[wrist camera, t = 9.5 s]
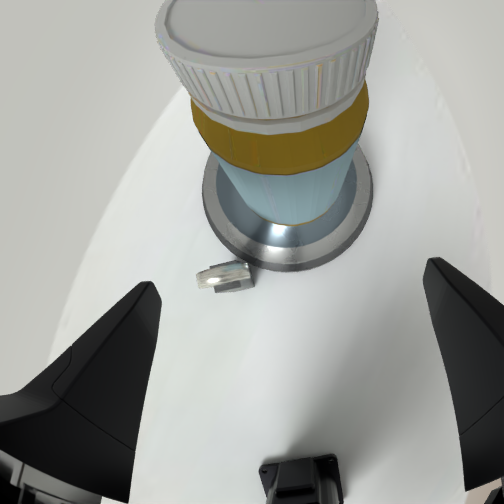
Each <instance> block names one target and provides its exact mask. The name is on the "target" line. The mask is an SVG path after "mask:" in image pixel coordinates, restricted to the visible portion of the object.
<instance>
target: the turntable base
mask: <svg viewBox="0 0 504 504" xmlns="http://www.w3.org/2000/svg"><path fill="white" fill-rule="evenodd" d="M366 162H367V160H366ZM367 165H368V163H367ZM368 168H369V165H368ZM369 174H370V195H369V201H368V205H367V208H366V211H365V213H364V216H363V218H362V220H361V222H360V223H359V225H358V226H357V228H356V229H355V231H354V232H353V233H352V234H351V235H350V236H349V238H348V239H347V240H346V241H345V242H343V243H342V244H341V245H340V246H339V247H338V248H336V249H335V250H333V251H332V252H330V253H329V254H326V255H324V256H322V257H320V258H318V259H315V260H312V261H309V262H304V263H298V264H277V263H271V262H266V261H262V260H260V259H257V258H254V257H252V256H250V255H248V254H246V253H244V252H242V251H241V250H239V249H238V248H237V247H235V246H234V245H232V244H231V243H230V242H229V241H228V240H227V239H226V238H225V237H224V236H223V235H222V234H221V233H220V232H219V230H218V229H217V228H216V226H215V224H214V223H213V221H212V219H211V217H210V215H209V213H208V210H207V207H206V204H205V200H204V192H203V184H202V198H203V206H204V210H205V214H206V217H207V219H208V222H209V224H210V226H211V228H212V230H213V231H214V233H215V235H216V236H217V237H218V239H219V240H220V241H221V242H222V244H223V245H224V246H226V247H227V248H228V249H229V250H230V251H231V252H232V253H233V254H235V255H236V256H238V257H239V258H241V259H242V260H244V261H246V262H248V263H250V264H252V265H254V266H257V267H260V268H262V269H266V270H271V271H276V272H300V271H305V270H310V269H313V268H316V267H319V266H322V265H324V264H326V263H328V262H330V261H332V260H333V259H335V258H336V257H338V256H339V255H341V254H342V253H343V252H344V251H345V250H346V249H347V248H349V247H350V246H351V245H352V243H353V242H354V241H355V240H356V239H357V237H358V236H359V234H360V233H361V231H362V230H363V228H364V226H365V224H366V222H367V220H368V217H369V214H370V210H371V207H372V200H373V182H372V176H371V172H370V168H369ZM196 277H197V282H198V287H199V289H204V288H211V287H214V289H215V293H223V292H236V291H240V290H244V289H249V288H253V287H254V283H253V279H252V274H251V270H250V266H248V264H247V263H241V262H239V261H236V260H234V261H230V262H226V263H222V264H218V265H214V266H210V269H208V270H204V271H201V272H199V273H197V274H196Z"/></svg>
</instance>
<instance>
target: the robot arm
mask: <svg viewBox="0 0 504 504" xmlns="http://www.w3.org/2000/svg"><path fill="white" fill-rule="evenodd" d="M423 285H424V289H425V293H426V298H427V302H428V306H429V311H430V315H431V320H432V324H433V328H434V331H435V334H436V338H437V341H438V344H439V348H440V351H441V355H442V358H443V362H444V366H445V370H446V374H447V378H448V382H449V386H450V391H451V395H452V400H453V405H454V410H455V415H456V420H457V426H458V432H459V440H460V447H461V454H462V463H463V473H464V486H465V492H466V491H469V490H471V489H474V488H477V487H480V486H482V485H485V484H487V483H490V482H492V481H494V480H497V479H499V478H501V481H502V486H500V487H498V488H496V489H494V490H492V491H491V493H490V495H489V496H488V498H487V500H486V501H485V503H484V504H504V305H503V304H501V303H500V302H499V301H498V300H497V299H495V298H494V297H493V296H492V295H490V294H489V293H488V292H487V291H485V290H484V289H483V288H481V287H480V286H479V285H478V284H476V283H475V282H474V281H472V280H471V279H470V278H468V277H467V276H466V275H464V274H463V273H462V272H460V271H459V270H457V269H456V268H455V267H453V266H452V265H451V264H449V263H448V262H446V261H445V260H444V259H442V258H441V257H433V258H429V259H428V261H427V264H426V268H425V272H424V276H423ZM161 306H162V301H161V297H160V295H159V293H158V291H157V289H156V287H155V285H154V283H153V282H151V281H143V282H140V283H139V284H137V285H136V286H135V287H134V288H133V289H132V290H131V291H130V292H128V293H127V294H126V295H125V296H124V297H123V298H122V299H121V300H119V301H118V302H117V303H116V304H115V305H114V306H113V307H112V308H111V309H110V310H108V311H107V312H106V313H105V314H104V315H103V316H102V317H101V318H100V319H99V320H97V321H96V322H95V323H94V324H93V325H92V326H91V327H90V328H89V329H88V330H87V331H86V332H85V333H84V334H82V335H81V336H80V337H79V338H78V339H77V340H76V341H75V342H74V343H73V344H72V346H70V347H69V348H68V349H67V350H66V351H65V352H64V353H62V354H61V355H60V356H59V357H58V358H57V359H56V360H55V361H54V362H53V363H52V364H50V365H49V366H48V367H47V368H46V369H45V370H44V371H42V372H41V373H40V374H39V375H38V376H36V377H35V378H34V379H33V380H32V381H31V382H30V383H28V384H27V385H26V386H25V387H24V388H22V389H21V390H19V391H18V392H15V393H13V394H9V395H2V396H0V504H100V503H101V499H102V496H103V497H106V498H109V499H113V500H116V501H119V502H123V503H127V504H128V502H129V496H130V488H131V480H132V473H133V466H134V459H135V451H136V445H137V439H138V433H139V427H140V422H141V416H142V411H143V405H144V400H145V395H146V390H147V385H148V381H149V376H150V371H151V367H152V362H153V358H154V353H155V349H156V344H157V337H158V329H159V321H160V314H161ZM329 459H333V460H332V461H329ZM263 469H266V470H267V471H263ZM259 475H260V478H261V481H262V485H263V488H264V491H265V494H266V497H267V501H266V504H344V501H343V494H342V487H341V480H340V474H339V468H338V461H337V457H336V455H334V454H329V455H324V456H319V457H314V458H310V457H309V458H304V459H298V460H291V461H284V462H281V463H275V464H267V465H262V466H260V468H259Z"/></svg>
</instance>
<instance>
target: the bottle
mask: <svg viewBox="0 0 504 504" xmlns="http://www.w3.org/2000/svg"><path fill="white" fill-rule="evenodd" d="M378 20H379V18H378V11H377V5H376V2H375V0H165V2H164V3H163V4H162V6H161V8H160V10H159V12H158V14H157V16H156V20H155V33H156V38H157V40H158V41H157V43H158V45H159V46H160V49H161V50H162V52H163V54H164V55H165V57H166V58H167V60H168V62H169V63H170V65H171V66H172V68H173V70H174V71H175V73H176V75H177V76H178V78H179V79H180V81H181V83H182V84H183V86H184V87H185V88H186V90H187V91H188V92H189V95H190V96H191V109H192V115H193V121H194V123H195V126H196V127H197V129H198V131H199V133H200V135H201V136H202V138H203V139H204V141H205V142H206V144H207V146H208V147H209V149H210V150H211V152H212V153H213V155H214V156H215V158H216V159H217V161H218V162H219V164H220V165H221V167H222V168H223V170H224V171H225V173H226V174H227V176H228V177H229V179H230V180H231V182H232V183H233V185H234V186H235V188H236V189H237V191H238V192H239V194H240V195H241V197H242V198H243V200H244V201H245V203H246V204H247V206H248V207H249V208H250V209H251V210H252V211H253V212H254V213H255V214H257V215H258V216H259V217H260V218H262V219H264V220H266V221H268V222H271V223H273V224H276V225H280V226H299V225H303V224H307V223H310V222H313V221H314V220H316V219H318V218H319V217H321V216H323V215H324V214H325V213H326V212H327V211H328V210H329V209H330V207H331V206H332V205H333V204H334V202H335V201H336V199H337V197H338V195H339V192H340V190H341V187H342V185H343V182H344V179H345V177H346V174H347V171H348V169H349V166H350V163H351V160H352V158H353V155H354V152H355V149H356V147H357V144H358V141H359V138H360V135H361V132H362V129H363V126H364V123H365V120H366V117H367V111H368V108H369V98H368V89H367V84H366V81H365V75H366V70H367V68H368V65H369V61H370V57H371V53H372V48H373V44H374V39H375V35H376V30H377V26H378Z"/></svg>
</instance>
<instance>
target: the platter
mask: <svg viewBox="0 0 504 504" xmlns="http://www.w3.org/2000/svg"><path fill="white" fill-rule="evenodd" d="M203 192H204V200H205V204H206V207H207V210H208V213H209V215H210V217H211V219H212V221H213V223H214V224H215V226H216V228H217V229H218V230H219V232H220V233H221V234H222V235H223V236H224V237H225V238H226V239H227V240H228V241H229V242H230V243H231V244H232V245H234V246H235V247H237V248H238V249H239V250H241V251H242V252H244V253H246V254H248V255H250V256H252V257H254V258H257V259H260V260H262V261H266V262H271V263H277V264H298V263H304V262H309V261H312V260H315V259H318V258H320V257H322V256H324V255H326V254H329V253H330V252H332V251H333V250H335V249H336V248H338V247H339V246H340V245H341V244H342V243H343V242H345V241H346V240H347V239H348V238H349V236H350V235H351V234H352V233H353V232H354V231H355V229H356V228H357V226H358V225H359V223H360V222H361V220H362V218H363V216H364V213H365V211H366V208H367V205H368V201H369V195H370V174H369V168H368V165H367V162H366V158H365V156H364V154H363V152H362V150H361V148H360V146H359V145H358V144H357V147H356V149H355V152H354V155H353V158H352V160H351V163H350V166H349V169H348V171H347V174H346V177H345V179H344V182H343V185H342V187H341V190H340V192H339V195H338V197H337V199H336V201H335V202H334V204H333V205H332V206H331V207H330V209H329V210H328V211H327V212H326V213H325V214H324V215H323V216H321V217H319V218H318V219H316V220H314V221H313V222H310V223H307V224H303V225H299V226H280V225H276V224H273V223H271V222H268V221H266V220H264V219H262V218H260V217H259V216H258V215H257V214H255V213H254V212H253V211H252V210H251V209H250V208H249V207H248V206H247V204H246V203H245V201H244V200H243V198H242V197H241V195H240V194H239V192H238V191H237V189H236V188H235V186H234V185H233V183H232V182H231V180H230V179H229V177H228V176H227V174H226V173H225V171H224V170H223V168H222V167H221V165H220V164H219V162H218V161H217V159H216V158H215V156H214V155H213V153H212V152H211V153H210V156H209V158H208V160H207V164H206V167H205V171H204V178H203Z"/></svg>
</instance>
